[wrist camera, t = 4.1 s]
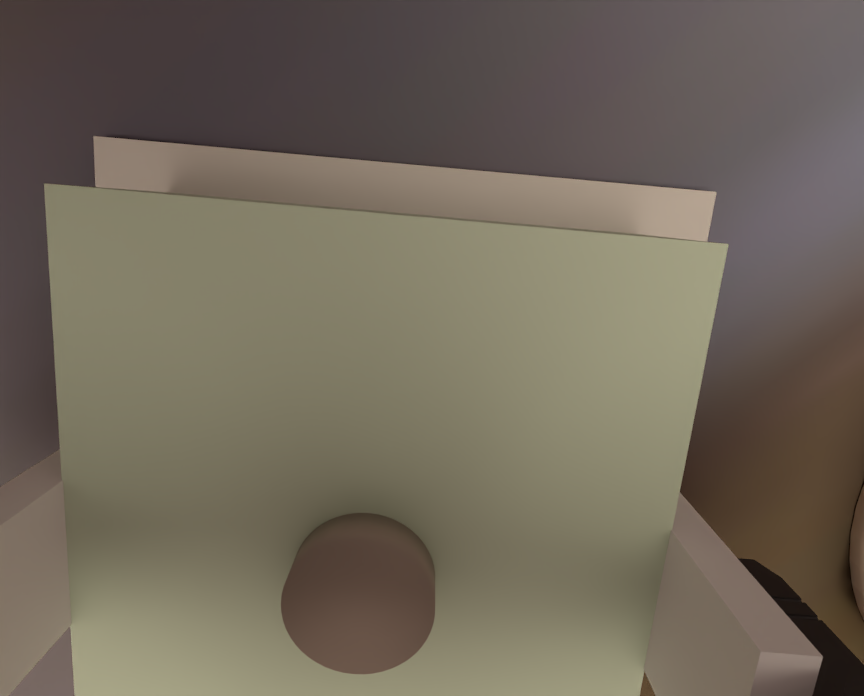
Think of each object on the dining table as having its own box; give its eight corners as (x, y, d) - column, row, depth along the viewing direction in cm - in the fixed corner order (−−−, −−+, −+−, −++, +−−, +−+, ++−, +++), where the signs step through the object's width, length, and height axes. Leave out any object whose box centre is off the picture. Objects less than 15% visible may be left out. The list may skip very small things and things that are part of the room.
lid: (166, 192, 12) (4, 180, 8) (637, 233, 13) (757, 247, 8) (173, 674, 15) (56, 881, 10) (561, 704, 15) (617, 921, 11)
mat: (104, 138, 13) (93, 135, 12) (707, 192, 13) (716, 191, 12) (124, 690, 16) (116, 702, 15) (608, 727, 16) (612, 740, 16)
